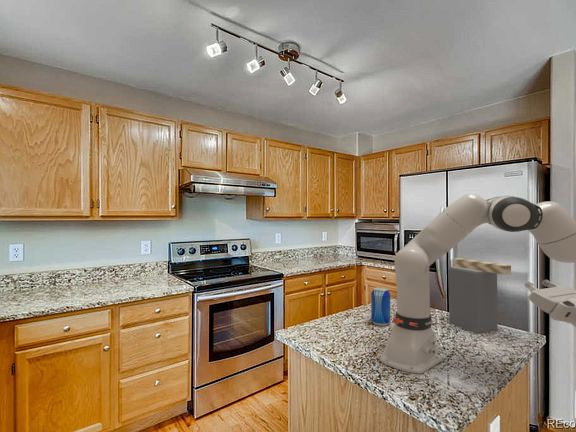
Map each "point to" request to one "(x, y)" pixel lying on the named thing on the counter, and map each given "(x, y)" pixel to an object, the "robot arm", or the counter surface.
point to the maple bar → (482, 266)
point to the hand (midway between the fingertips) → (535, 282)
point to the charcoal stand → (473, 299)
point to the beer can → (380, 306)
